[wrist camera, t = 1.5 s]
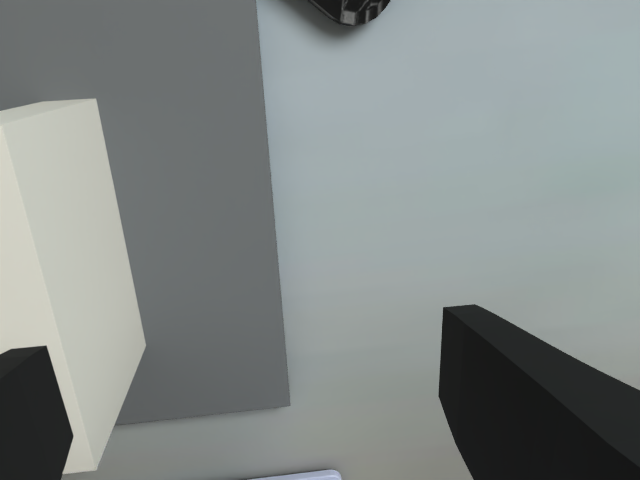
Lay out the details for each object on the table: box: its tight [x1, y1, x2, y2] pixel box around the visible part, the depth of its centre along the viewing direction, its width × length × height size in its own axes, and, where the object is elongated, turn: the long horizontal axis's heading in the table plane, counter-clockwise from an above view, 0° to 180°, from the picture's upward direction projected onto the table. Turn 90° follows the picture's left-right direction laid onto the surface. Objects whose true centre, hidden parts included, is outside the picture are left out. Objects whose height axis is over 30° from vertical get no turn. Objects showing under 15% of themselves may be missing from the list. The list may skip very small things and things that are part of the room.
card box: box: [0, 98, 146, 474], centre depth 14 cm, size 9×2×6 cm, turn 3°
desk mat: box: [0, 0, 290, 425], centre depth 17 cm, size 16×14×1 cm
